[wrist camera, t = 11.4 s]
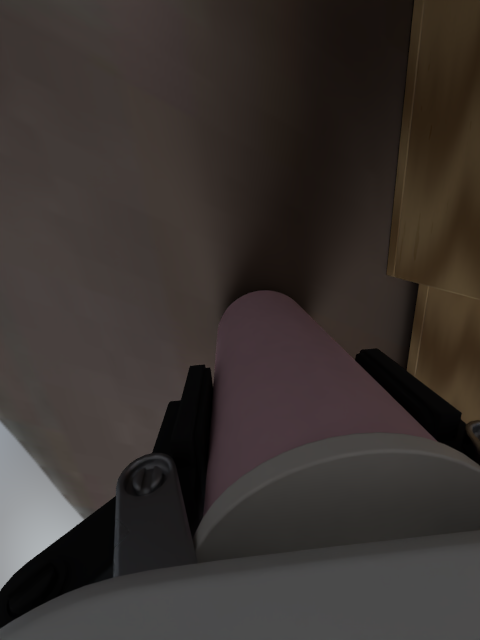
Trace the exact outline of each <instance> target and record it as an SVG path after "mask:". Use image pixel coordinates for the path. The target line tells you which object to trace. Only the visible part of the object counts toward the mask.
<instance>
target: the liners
mask: <svg viewBox="0 0 480 640" xmlns="http://www.w3.org/2000/svg"><path fill="white" fill-rule="evenodd" d="M477 530H480V466H479V465H478V464H477V463H476V462H474V461H473V460H471V459H470V458H469V457H467V456H466V455H465V454H463V453H461V452H459V451H457V450H455V449H453V448H451V447H449V446H447V445H445V444H442V443H439V442H437V441H436V440H435V439H434V438H433V437H432V436H431V435H430V434H429V433H428V432H427V431H426V430H425V429H424V428H423V427H422V426H421V425H420V424H419V423H418V422H417V421H416V420H415V419H414V418H413V417H412V416H411V415H410V414H409V413H408V412H407V411H406V410H405V409H404V408H403V407H402V406H401V405H400V404H399V403H398V402H397V401H396V400H395V399H394V398H393V397H392V396H391V395H390V394H389V393H388V392H387V391H386V390H385V389H384V388H383V387H382V386H381V385H380V384H379V383H378V382H377V381H376V380H375V379H374V378H372V377H371V376H370V375H369V374H368V373H367V372H366V371H365V370H364V369H363V368H362V367H361V366H360V365H359V364H358V363H357V362H356V361H355V360H354V359H353V358H352V357H351V356H350V355H349V354H348V353H347V352H346V351H345V350H344V349H343V348H342V347H341V346H340V345H339V344H338V343H337V342H336V341H335V340H334V339H333V338H332V337H331V336H330V335H329V334H328V333H327V332H326V331H325V330H324V329H323V328H322V327H321V326H320V325H319V324H318V323H317V322H316V321H315V320H314V319H313V318H312V317H311V316H310V315H308V314H307V313H306V312H305V311H304V310H303V309H302V308H301V307H300V306H299V305H298V304H297V303H296V302H295V301H294V300H293V299H291V298H290V297H288V296H286V295H284V294H282V293H279V292H275V291H268V290H264V291H255V292H251V293H248V294H246V295H243V296H242V297H240V298H238V299H237V300H235V301H234V302H233V303H232V304H231V305H230V306H229V307H228V308H227V309H226V311H225V312H224V314H223V316H222V317H221V320H220V323H219V326H218V334H217V347H216V359H215V372H214V385H213V398H212V411H211V424H210V436H209V449H208V462H207V475H206V487H205V500H204V512H203V518H202V520H201V522H200V524H199V526H198V529H197V531H196V533H195V535H194V537H193V545H194V549H195V554H196V558H197V563H204V562H211V561H218V560H225V559H234V558H242V557H250V556H259V555H267V554H276V553H284V552H292V551H301V550H309V549H317V548H326V547H334V546H343V545H352V544H361V543H369V542H378V541H387V540H396V539H405V538H413V537H422V536H431V535H440V534H449V533H458V532H467V531H477Z"/></svg>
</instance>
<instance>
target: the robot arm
mask: <svg viewBox="0 0 480 640" xmlns="http://www.w3.org/2000/svg"><path fill="white" fill-rule="evenodd" d="M355 361H356V362H357V363H358V364H359V365H360V366H361V367H362V368H363V369H364V370H365V371H366V372H367V373H368V374H369V375H370V376H371V377H372V378H374V379H375V380H376V381H377V382H378V383H379V384H380V385H381V386H382V387H383V388H384V389H385V390H386V391H387V392H388V393H389V394H390V395H391V396H392V397H393V398H394V399H395V400H396V401H397V402H398V403H399V404H400V405H401V406H402V407H403V408H404V409H405V410H406V411H407V412H408V413H409V414H410V415H411V416H412V417H413V418H414V419H415V420H416V421H417V422H418V423H419V424H420V425H421V426H422V427H423V428H424V429H425V430H426V431H427V432H428V433H429V434H430V435H431V436H432V437H433V438H434V439H435V440H436V441H437V442H439V443H442V444H445V445H447V446H449V447H451V448H453V449H455V450H457V451H459V452H461V453H463V454H465V455H466V456H467V457H469V458H470V459H471V460H473V461H474V462H476V463H477V464H478V465H479V466H480V420H474V421H470V422H469V423H467V424H466V423H465V422H464V421H462V420H461V415H462V413H461V412H460V411H459V410H457V409H456V408H455V407H454V406H452V405H451V404H450V403H448V402H447V401H446V400H444V399H443V398H442V397H440V396H439V395H438V394H436V393H435V392H434V391H433V390H431V389H430V388H429V387H427V386H426V385H425V384H423V383H422V382H421V381H419V380H418V379H417V378H415V377H414V376H413V375H412V374H410V373H409V372H408V371H406V370H405V369H404V368H402V367H401V366H400V365H398V364H397V363H396V362H394V361H393V360H392V359H391V358H389V357H388V356H387V355H385V354H384V353H383V352H381V351H380V350H379V349H377V348H375V349H365V350H361V351H360V353H359V354H357V355H356V358H355ZM212 398H213V384H212V377H211V369H210V368H205V365H195V366H190V368H189V372H188V376H187V379H186V383H185V387H184V391H183V395H182V398H181V401H171V402H169V404H168V407H167V410H166V413H165V416H164V419H163V422H162V425H161V428H160V431H159V434H158V437H157V440H156V443H155V446H154V449H153V452H152V453H151V454H147V455H144V456H142V457H140V458H138V459H136V460H134V461H133V462H132V463H130V464H129V465H128V466H127V467H126V468H125V469H124V470H123V471H122V473H121V475H120V477H119V478H118V482H117V486H116V496H115V497H114V498H113V499H111V500H110V501H109V502H107V503H106V504H105V505H103V506H102V507H101V508H99V509H98V510H97V511H95V512H94V513H93V514H91V515H90V516H89V517H87V518H86V519H85V520H83V521H82V522H81V523H80V524H78V525H77V526H76V527H74V528H73V529H72V530H70V531H69V532H68V533H66V534H65V535H64V536H62V537H61V538H60V539H58V540H57V541H56V542H54V543H53V544H52V545H50V546H49V547H48V548H46V549H45V550H44V551H42V552H41V553H40V554H38V555H37V556H36V557H34V558H33V559H32V560H30V561H29V562H28V563H26V564H25V565H24V566H23V567H22V568H21V569H20V570H18V571H17V572H16V573H15V574H14V575H13V576H12V577H11V578H10V580H9V581H8V582H7V583H6V585H4V587H3V588H2V589H1V591H0V640H480V530H477V531H467V532H458V533H449V534H440V535H431V536H422V537H413V538H405V539H396V540H387V541H378V542H369V543H361V544H352V545H343V546H334V547H326V548H317V549H309V550H301V551H292V552H284V553H276V554H267V555H259V556H250V557H242V558H234V559H225V560H218V561H211V562H204V563H197V558H196V554H195V549H194V545H193V537H194V535H195V533H196V531H197V529H198V526H199V524H200V522H201V520H202V518H203V512H204V500H205V487H206V475H207V462H208V449H209V436H210V424H211V411H212Z"/></svg>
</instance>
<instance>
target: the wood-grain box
mask: <svg viewBox="0 0 480 640" xmlns="http://www.w3.org/2000/svg"><path fill="white" fill-rule="evenodd" d="M387 275H389V276H392V277H396V278H400V279H404V280H407V281H411V282H415V283H419V284H422V285H426V286H430V287H433V288H437V289H441V290H445V291H448V292H452V293H456V294H460V295H463V296H467V297H471V298H474V299H478V300H480V0H414V7H413V17H412V27H411V37H410V47H409V57H408V67H407V77H406V86H405V96H404V106H403V116H402V126H401V136H400V146H399V156H398V165H397V175H396V185H395V195H394V205H393V215H392V225H391V235H390V245H389V254H388V264H387Z"/></svg>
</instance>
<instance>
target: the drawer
mask: <svg viewBox="0 0 480 640" xmlns="http://www.w3.org/2000/svg"><path fill="white" fill-rule="evenodd" d="M407 371H408V372H409V373H410V374H412V375H413V376H414V377H415V378H417V379H418V380H419V381H421V382H422V383H423V384H425V385H426V386H427V387H429V388H430V389H431V390H433V391H434V392H435V393H436V394H438V395H439V396H440V397H442V398H443V399H444V400H446V401H447V402H448V403H450V404H451V405H452V406H454V407H455V408H456V409H457V410H459V411H460V412H461V413H462V415H461V420H462V421H464V422H465V423H466V424H467V423H469V422H470V421H474V420H480V300H478V299H474V298H471V297H467V296H463V295H460V294H456V293H452V292H448V291H445V290H441V289H437V288H433V287H430V286H426V285H422V284H419V287H418V294H417V301H416V308H415V315H414V322H413V329H412V336H411V344H410V351H409V358H408V365H407Z"/></svg>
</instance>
